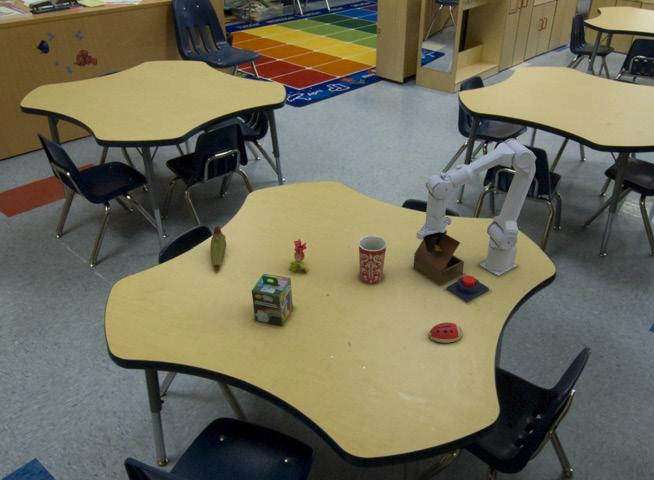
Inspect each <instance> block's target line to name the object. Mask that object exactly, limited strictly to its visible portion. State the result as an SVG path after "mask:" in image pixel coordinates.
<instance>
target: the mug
mask: <svg viewBox="0 0 654 480" xmlns="http://www.w3.org/2000/svg"><path fill="white" fill-rule="evenodd" d="M357 244H358V256H359V278H360V280H361V281H362V282H363V283H366V284H370V285H371V284H372V285H373V284H378V283H380V282H381V281H382V279H383V273H384V267H385V265H384V264H385V258H386V252H387V251H386V250H387V246H388V243H387V240H386V239H384V238H383V237H381V236H378V235H365V236H363V237H362V238H359V240H358V242H357Z"/></svg>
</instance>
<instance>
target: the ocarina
mask: <svg viewBox="0 0 654 480" xmlns="http://www.w3.org/2000/svg"><path fill="white" fill-rule="evenodd" d="M226 249H227V241H226V235H225V234H224V233H223V231H222V230H221V227H220V226H215V227H214V228H213V234H212V236H211V240H210V249H209V250H210V256H211V257H210V259H211V262H212V267H213V269H214V271H215V272H218V271H219V270H220V269H221V267H222V263H223V260H224V259H225V258H224V257H225V255H226Z"/></svg>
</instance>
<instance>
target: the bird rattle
mask: <svg viewBox="0 0 654 480" xmlns="http://www.w3.org/2000/svg"><path fill="white" fill-rule="evenodd" d="M293 244H294V251H295V252H294V255H293V257H294V259H295V260H292V261H291V262H290V265H289V267H288V271H292V272H293V273H295V272H296V271H297V270H298V269H300V270H303V271H304V272H306V273H307V272H308V267H307V266H305V265H304V264H302V262H303V260H305V256H306V255H305V254H306V253H305V252H304V251H305V250H306V249H307V242H304V243H303V244H302V240H301V239H300V238H299V239H298V240H294V241H293Z"/></svg>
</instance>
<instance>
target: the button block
mask: <svg viewBox="0 0 654 480" xmlns="http://www.w3.org/2000/svg"><path fill="white" fill-rule="evenodd" d="M463 277H464V276H460V277H459V278H458V279H457V281H454V282H453V283H451V284H449V285H447V286H446V290H447V291H448V292H450V293H452V294H453V295H454V296H456V297H458V298H459V299H461V300H462V301H464V302H465V303H469V302H471V301H473V300H475V299H476V298H479V297H480V296H483V295H484V294H486V293H488V292H489V290H490V288H489V286H487V285H485V284H483V283H481V282H480V281H479V280H478V279H477V278H475V279H476V282H475V286H474V287H466V286H464V285H463V284H462V280H463Z"/></svg>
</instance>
